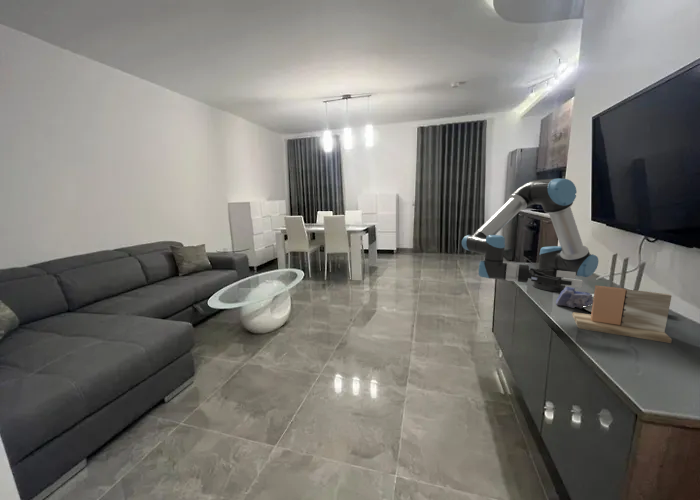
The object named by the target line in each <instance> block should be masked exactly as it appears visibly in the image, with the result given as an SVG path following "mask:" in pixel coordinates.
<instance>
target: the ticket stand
mask: <svg viewBox="0 0 700 500" xmlns="http://www.w3.org/2000/svg"><path fill="white" fill-rule="evenodd" d="M624 289H625V290H626V293H625V299H624V305H623V311H622V317H621V323H620V325H617V324H610V323H603V322H597V321H592V320H591V314H590V313H589V314H588V313H582V312H572V314H571V315H572V317H573V320H574V321H575V324H576V326H577V328H578V329H579V330H580V329H582V330H586V331H591V332H592V331H593V332H598V333H599V332H601V333H604V334H605V333H606V334H612V335H618V336H625V337H630V338H635V339H637V338H638V339H641V340H643V339H644V340H649V341H655V342H662V343H669V344H672V340H673V339H672V338H671V336H669V335H668V334H667V332H665V331H666V326H667V320H668V316H669V311H670V305H671V301H672V295H671V294H670V293H665V292H656V291H655V292H654V291H647V290H646V291H645V290H644V291H643V290H636V289H626V288H624Z"/></svg>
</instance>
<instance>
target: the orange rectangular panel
mask: <svg viewBox="0 0 700 500" xmlns="http://www.w3.org/2000/svg"><path fill="white" fill-rule="evenodd" d="M625 289H626V288H624V287H614V286H604V285H596V284H595V286H594V291H593V304H592V305H591V311H590V313H591V314H590V315H591V320H592V321H597V322H603V323H610V324H617V325H620V323H621V317H622V311H623V305H624V299H625V293H626V290H625Z"/></svg>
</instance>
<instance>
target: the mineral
mask: <svg viewBox="0 0 700 500" xmlns="http://www.w3.org/2000/svg"><path fill="white" fill-rule="evenodd" d="M575 288H576V287H572V286H566V287H565V288H564V290H562V291H560V293H559V295H558V297H557V299H556V300H555V305H557V306H563V307H564V306H565V307H569V308H571V309H572V308H573V309H574V308H575V307H576V308H577V309H583V308H582V307H583V306H587V307H589V306H588V305H590V306H592V305H593V298H594V296H593V295H592V293H590V292H585V291H577V290H576V291H575ZM591 304H592V305H591Z"/></svg>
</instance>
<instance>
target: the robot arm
mask: <svg viewBox="0 0 700 500" xmlns="http://www.w3.org/2000/svg"><path fill="white" fill-rule="evenodd" d="M576 194H577V186H576V185H575V183H574V182H573V181H572V180H571V179H568V178H559V177H558V178H549V179H534V180H531V181H528V182H526V183H524V184H523V185H521V186H519V188H516V190H514V191H513V192H512V193H511V194H510V195H509V196H508V200H506V202H505V203H504V204H503V205H501V207H500V208H498V210H496V212H494V214H493V215H491V217H489V219H487V220H486V221H485V222H484V223H483V224H482V225H480V227H479V228H478V229H477V230H475V232H474V233H473V234H467V235H465V236H464V237H463V238H462V240H461V247H462V249H464V250H466V251H468V252H474V253H477V254H481V255H484V260H480V261H479V264H478V276H479V277H481V278H484V279H485V278H486V279H490V280H491V279H492V280H502V281H503V280H504V281H508V282H516V281H517V282H518V283H528V281H529V279H531V281H530V282H532V286H533V287H534V288H536V289H539V290H543V291H550V292H561V291H562V290H564V288H566V287H572V288H582V287H583V282H584V281H583V280H582V279H576V277H581V278H589V277H591V276H592V275H594V272H596V271H597V268H598V266H599V257H598V256H597V255H595V254H592V253H590V250H589V248H588V247H587V246H585V245H583V241H582V239H581V235H580V233H579V230H578V225H577V223H576V220H575V216H574V215H573V211H572V208H571V207H572V206H573V204H574V201H576V198H577V195H576ZM531 205H532V206H533V205H541V207H542V210H543V211H544V213H547V214H548V215H549V218H550V220H551V223H552V225H553V228H554V231H555V235H556V237H557V241H558V243H559V245H560V246H558V245H551V246H543V247H541V248H540V251H539V257H538V264H537V265H538V268H533V267H531V268H530V265H528V264H517V263H512V262H511V263H509V262H508V263H507V262H504V256H505V255H504V254H505V247H506V238H505V237H504V236H503V235H499V234H498V233H499V232H500V231H501V230H502V229H503V228H504V227H505V226H506V225H507V224H508V223H509V222H510V221H512V219H514V217H516V216H517V214H518V213H519V212H521V211H523V210H526V209H527V207H529V206H531Z"/></svg>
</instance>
